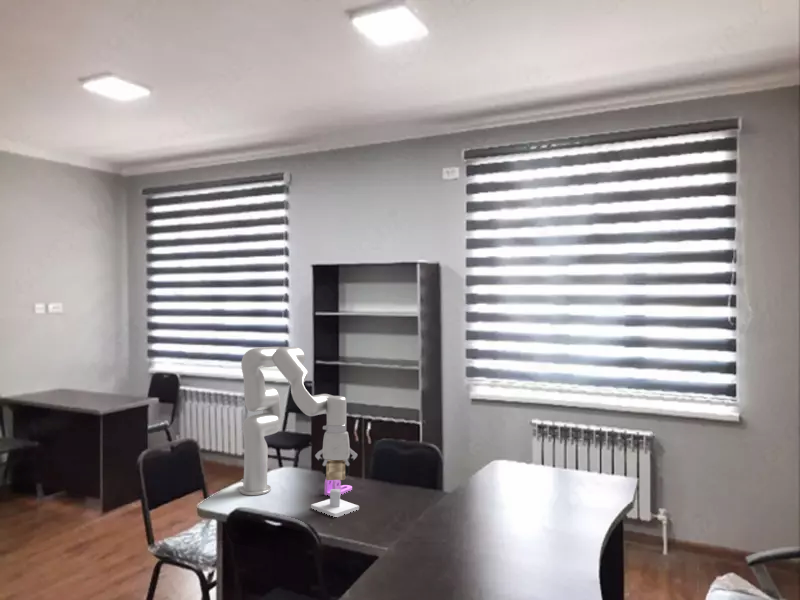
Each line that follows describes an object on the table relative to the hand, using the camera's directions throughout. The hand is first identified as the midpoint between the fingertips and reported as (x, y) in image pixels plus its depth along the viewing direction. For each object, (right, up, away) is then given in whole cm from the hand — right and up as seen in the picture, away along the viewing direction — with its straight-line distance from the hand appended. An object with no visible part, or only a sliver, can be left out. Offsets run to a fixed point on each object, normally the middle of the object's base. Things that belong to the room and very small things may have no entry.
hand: (336, 475), depth 216 cm
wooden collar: (0, -1, 0) cm, 1 cm away
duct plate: (0, -13, 0) cm, 13 cm away
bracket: (-1, -14, +20) cm, 25 cm away
